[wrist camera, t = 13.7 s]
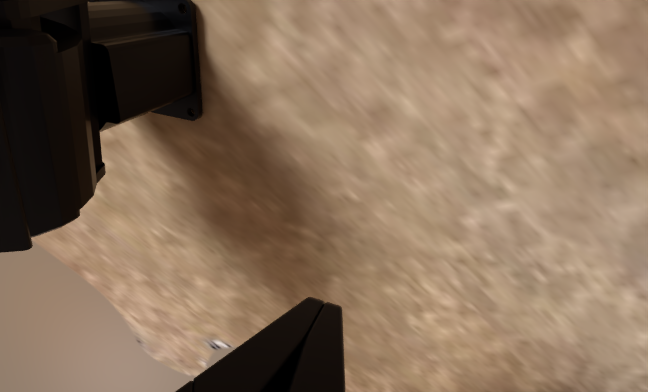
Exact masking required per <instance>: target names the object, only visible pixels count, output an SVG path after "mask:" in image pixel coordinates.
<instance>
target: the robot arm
mask: <svg viewBox="0 0 648 392" xmlns="http://www.w3.org/2000/svg"><path fill="white" fill-rule="evenodd" d="M183 4H184V5H185V6H186V8H187V11H186V13H185V12H184V10H183ZM191 108H192V109H193V110H194V112H195V114H193V113H192V111H191ZM149 112H153V113H158V114H163V115H167V116H172V117H177V118H182V119H186V120H191V121H195V120H197V119H199V118H200V117H201V116H202V99H201V84H200V70H199V55H198V40H197V26H196V11H195V5H194V3H193V2H192V1H191V0H0V252H13V251H24V250H28V249H30V248H32V246H33V245H32V241H31V237H36V236H38V235H41V234H44V233H47V232H50V231H52V230H55V229H58V228H61V227H62V226H64V225H66V224H68V223H70V222H71V221H73V220H75V219H76V218H78V217H79V216H80V209H81V208H82V207H83V206H84V205H85V204H86V203H87V202H88V201H89V200H90V199H91V198H92V197H93V195H94V192H95V189H96V185H97V183H98V182H99V181H100V179H101V178H102V177H103V176H104V175H105V173H106V172H105V164H104V163H103V162H102V154H101V143H100V132H101V131H104V130H106V129H109V128H111V127H114V126H116V125H119V124H121V123H124V122H126V121H129V120H131V119H134V118H136V117H139V116H141V115H144V114H146V113H149ZM176 392H345V371H344V345H343V320H342V308H341V306H338V305H335V304H332V303H329V302H327V303H325V302H324V301H322V300H319V299H316V298H313V297H308V298H306V299H305V300H303V301H302V302H300V303H299V304H298V305H296V306H295V307H293V308H292V309H291V310H289V311H288V312H286V313H285V314H284V315H282V316H281V317H279V318H278V319H277V320H275V321H274V322H272V323H271V324H270V325H268V326H267V327H265V328H264V329H263V330H261V331H260V332H258V333H257V334H256V335H254V336H253V337H251V338H250V339H249V340H247V341H246V342H244V343H243V344H242V345H240V346H239V347H237V348H236V349H235V350H233V351H232V352H231V353H229V354H228V355H226V356H225V357H223V358H222V359H221V360H219V361H218V362H216V363H215V364H214V365H212V366H211V367H209V368H208V369H207V370H205V371H204V372H202V373H201V374H200V375H198V376H197V377H195V378H194V381H189V382H188V383H187V384H185V385H184V386H183V387H181V388H180V389H178V390H177V391H176Z"/></svg>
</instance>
